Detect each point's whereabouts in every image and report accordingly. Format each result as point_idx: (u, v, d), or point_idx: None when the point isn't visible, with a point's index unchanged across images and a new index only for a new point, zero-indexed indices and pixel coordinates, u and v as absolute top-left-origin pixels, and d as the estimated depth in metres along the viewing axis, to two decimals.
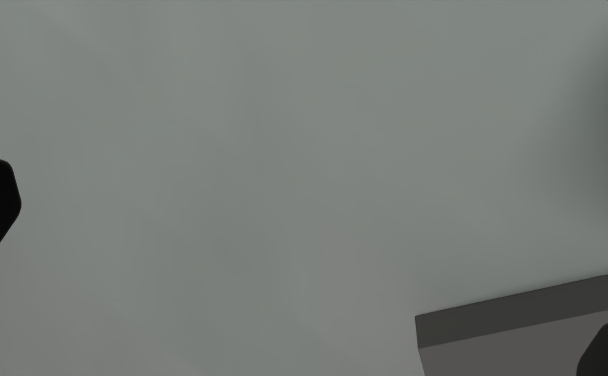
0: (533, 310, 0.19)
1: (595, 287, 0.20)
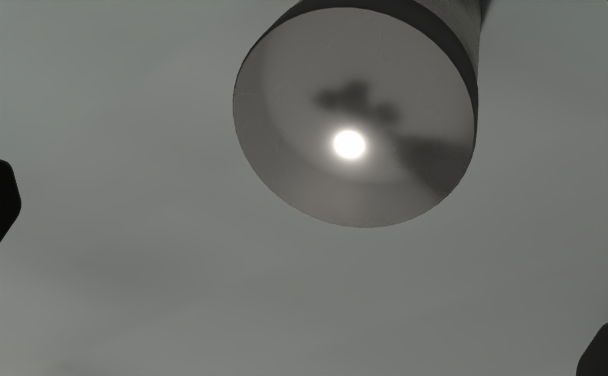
0: None
1: None
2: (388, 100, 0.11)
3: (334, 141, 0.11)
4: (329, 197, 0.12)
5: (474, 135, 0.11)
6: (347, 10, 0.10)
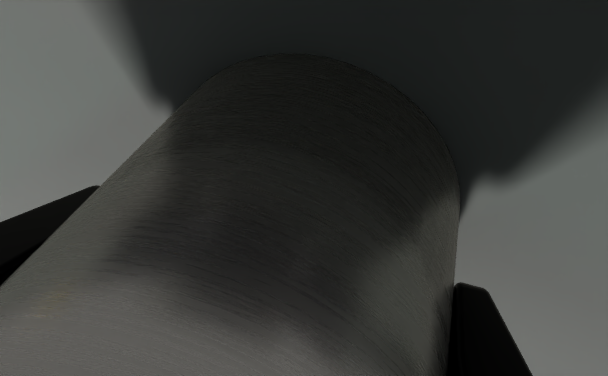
0: None
1: None
2: None
3: None
4: None
5: None
6: None
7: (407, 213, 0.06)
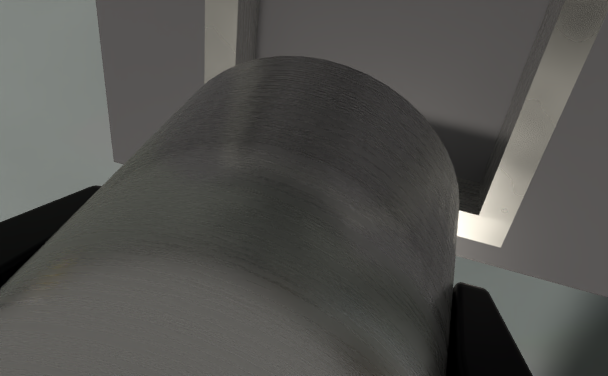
0: None
1: None
2: None
3: None
4: None
5: None
6: None
7: (406, 216, 0.06)
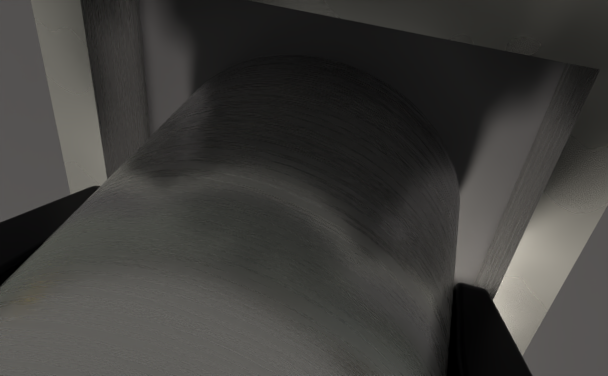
0: None
1: None
2: None
3: None
4: None
5: None
6: None
7: (406, 214, 0.06)
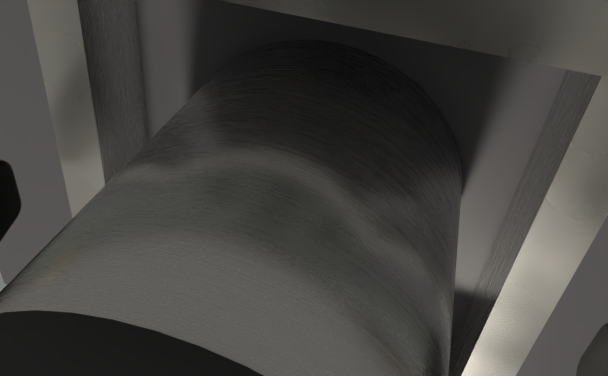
0: None
1: None
2: None
3: None
4: None
5: None
6: None
7: (414, 182, 0.07)
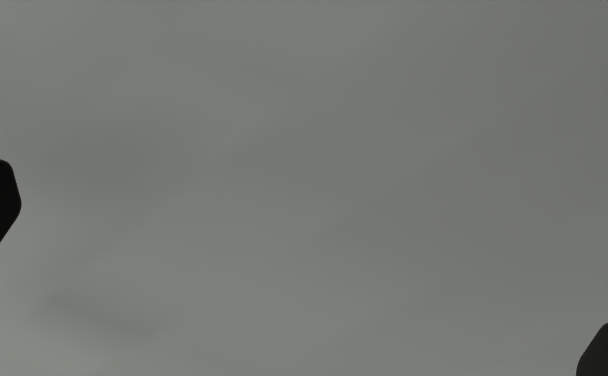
0: None
1: None
2: None
3: None
4: None
5: None
6: None
7: None
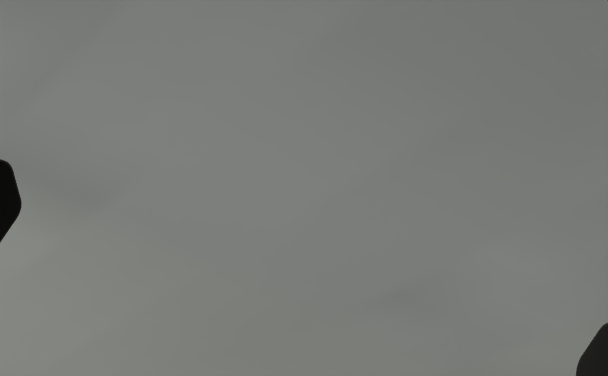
0: None
1: None
2: None
3: None
4: None
5: None
6: None
7: None
